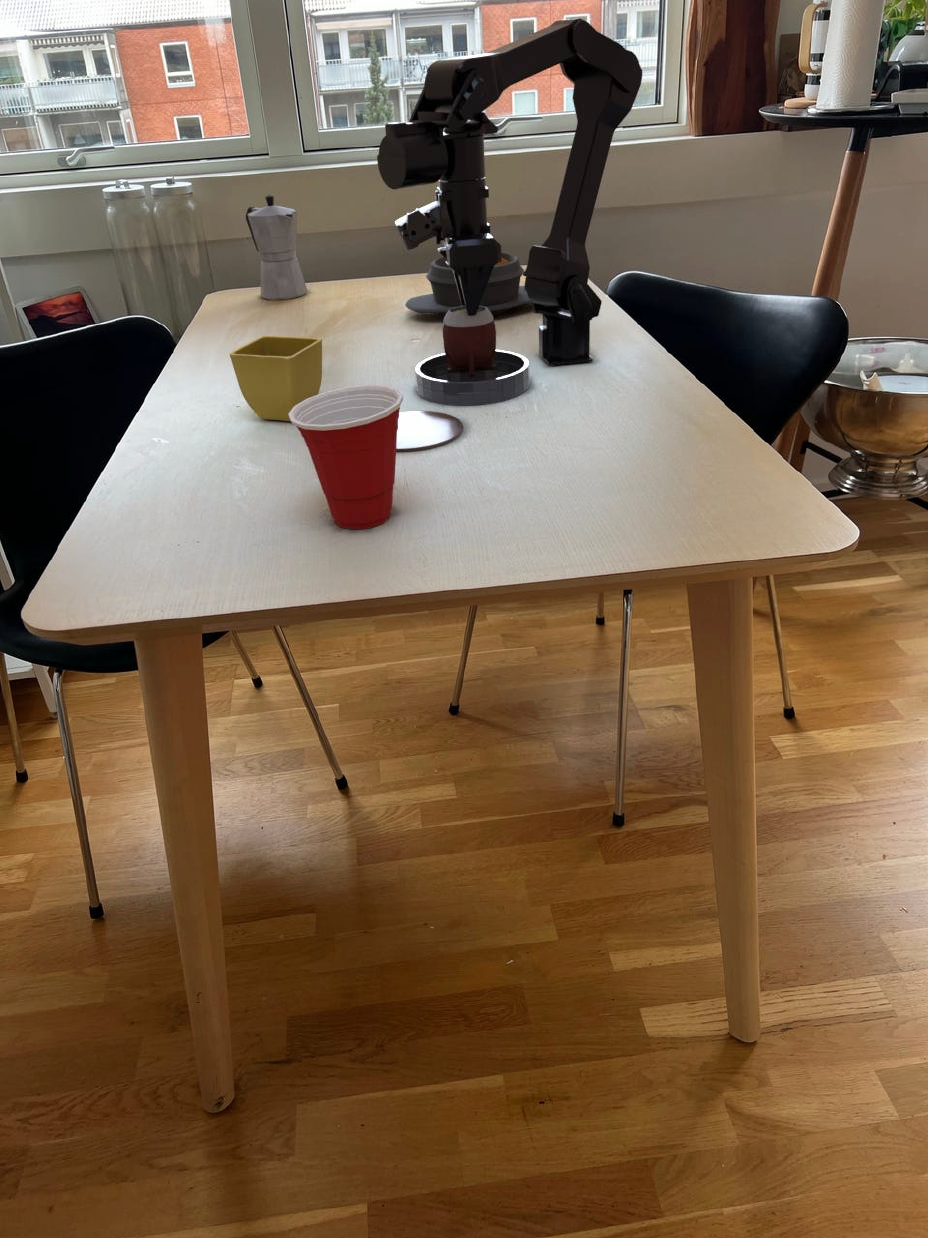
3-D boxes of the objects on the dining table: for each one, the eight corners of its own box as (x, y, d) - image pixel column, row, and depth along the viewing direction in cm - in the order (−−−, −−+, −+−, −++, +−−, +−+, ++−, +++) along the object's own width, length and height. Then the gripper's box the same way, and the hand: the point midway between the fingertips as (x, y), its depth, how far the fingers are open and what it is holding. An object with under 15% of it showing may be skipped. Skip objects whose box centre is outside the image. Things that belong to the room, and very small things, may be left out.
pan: (517, 366, 134) (517, 345, 132) (539, 398, 121) (539, 375, 119) (412, 376, 132) (410, 355, 131) (423, 410, 120) (421, 387, 118)
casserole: (531, 291, 173) (530, 244, 169) (560, 314, 158) (560, 262, 153) (398, 306, 170) (394, 257, 165) (415, 330, 154) (411, 277, 150)
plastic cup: (308, 500, 97) (291, 387, 91) (412, 491, 98) (401, 378, 92) (302, 546, 88) (281, 424, 82) (416, 536, 88) (404, 414, 82)
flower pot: (332, 405, 123) (323, 337, 119) (302, 428, 116) (291, 356, 112) (274, 402, 126) (262, 335, 121) (240, 424, 119) (227, 353, 114)
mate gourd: (444, 365, 128) (436, 249, 121) (501, 361, 128) (497, 245, 121) (446, 380, 122) (437, 259, 114) (506, 376, 122) (501, 254, 114)
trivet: (455, 409, 119) (455, 406, 119) (470, 445, 108) (470, 442, 108) (354, 419, 118) (353, 416, 118) (358, 456, 107) (357, 453, 107)
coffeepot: (323, 293, 182) (310, 193, 173) (283, 303, 177) (268, 200, 168) (278, 284, 192) (263, 189, 183) (239, 293, 187) (222, 196, 177)
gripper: (390, 175, 120) (401, 300, 129) (402, 193, 105) (413, 334, 113) (475, 169, 121) (481, 292, 130) (499, 185, 106) (504, 325, 114)
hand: (468, 310), depth 121 cm, fingers closed on mate gourd, 5 cm apart
